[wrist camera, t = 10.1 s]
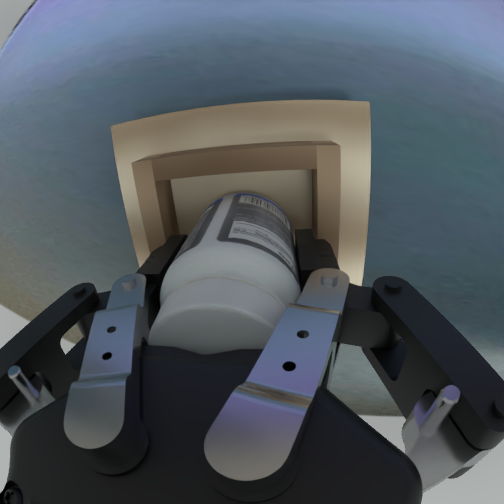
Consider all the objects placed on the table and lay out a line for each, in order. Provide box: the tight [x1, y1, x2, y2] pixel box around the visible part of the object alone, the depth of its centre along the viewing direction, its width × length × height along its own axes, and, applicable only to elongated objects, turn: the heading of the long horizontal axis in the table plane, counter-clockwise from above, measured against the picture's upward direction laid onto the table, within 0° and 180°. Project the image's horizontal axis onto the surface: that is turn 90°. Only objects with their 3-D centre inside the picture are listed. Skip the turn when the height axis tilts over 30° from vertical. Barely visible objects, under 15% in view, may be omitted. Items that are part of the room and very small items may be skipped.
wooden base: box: [111, 100, 371, 286], centre depth 16 cm, size 13×13×5 cm
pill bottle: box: [148, 192, 301, 354], centre depth 11 cm, size 5×5×8 cm
